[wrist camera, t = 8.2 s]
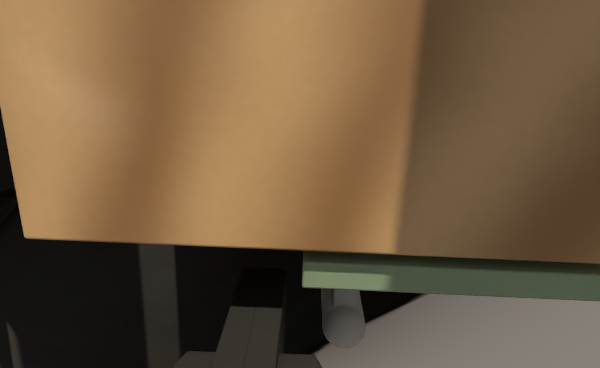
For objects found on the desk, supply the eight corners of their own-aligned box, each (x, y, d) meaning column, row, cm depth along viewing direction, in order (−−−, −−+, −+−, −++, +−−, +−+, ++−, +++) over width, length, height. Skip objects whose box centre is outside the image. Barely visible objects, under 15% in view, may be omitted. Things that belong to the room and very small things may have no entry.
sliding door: (305, 227, 23) (297, 381, 12) (308, 157, 22) (302, 262, 11) (461, 233, 23) (588, 396, 12) (472, 164, 22) (625, 276, 11)
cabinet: (171, 142, 23) (23, 239, 11) (154, -124, 19) (-93, -388, 7) (514, 155, 22) (727, 270, 11) (565, -114, 18) (974, -376, 7)
